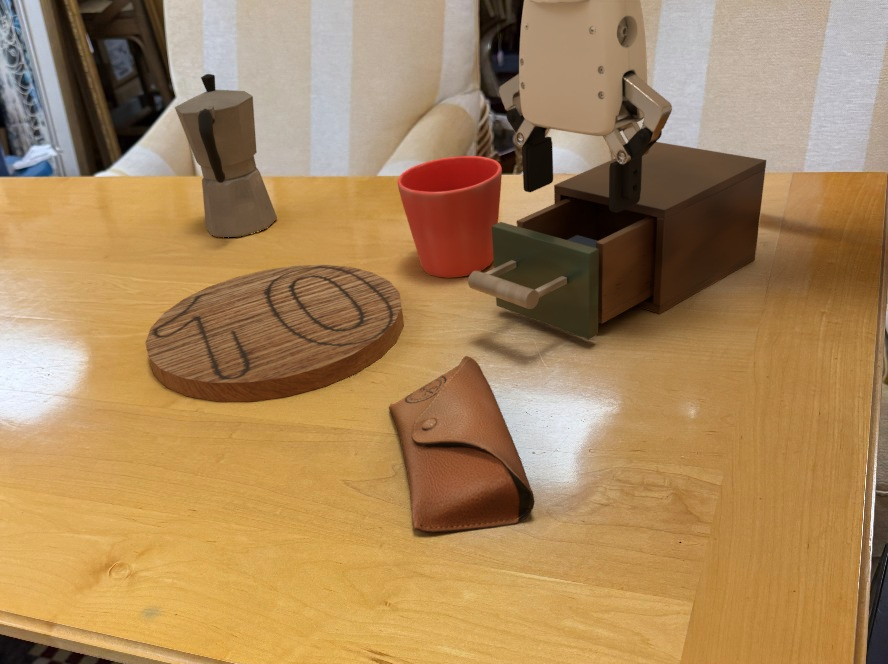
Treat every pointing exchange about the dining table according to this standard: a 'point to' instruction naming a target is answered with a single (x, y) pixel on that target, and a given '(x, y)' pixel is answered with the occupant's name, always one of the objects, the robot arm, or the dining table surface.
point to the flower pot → (452, 212)
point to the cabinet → (688, 214)
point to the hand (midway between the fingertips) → (579, 196)
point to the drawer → (572, 265)
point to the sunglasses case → (460, 455)
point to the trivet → (275, 333)
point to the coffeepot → (227, 160)
